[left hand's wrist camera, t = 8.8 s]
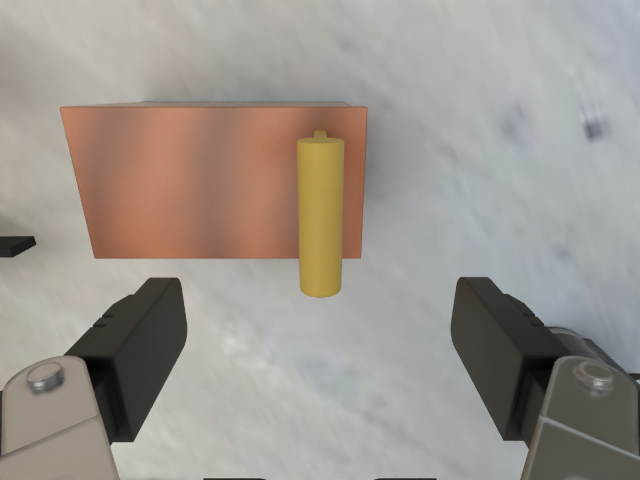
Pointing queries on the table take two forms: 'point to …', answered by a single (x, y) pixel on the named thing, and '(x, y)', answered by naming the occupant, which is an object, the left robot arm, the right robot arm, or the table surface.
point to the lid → (223, 183)
